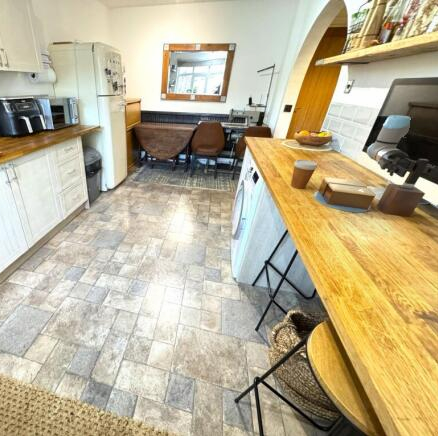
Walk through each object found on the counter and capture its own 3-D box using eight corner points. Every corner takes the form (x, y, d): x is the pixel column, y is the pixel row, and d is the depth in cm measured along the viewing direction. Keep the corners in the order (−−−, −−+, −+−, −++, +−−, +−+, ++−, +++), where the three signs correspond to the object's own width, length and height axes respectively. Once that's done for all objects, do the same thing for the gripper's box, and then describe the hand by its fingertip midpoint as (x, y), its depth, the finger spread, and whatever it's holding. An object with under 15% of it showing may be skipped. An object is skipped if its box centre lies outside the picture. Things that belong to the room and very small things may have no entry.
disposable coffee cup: (310, 191, 111) (320, 166, 105) (287, 188, 114) (296, 163, 108) (307, 184, 119) (316, 160, 113) (286, 181, 122) (293, 158, 116)
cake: (358, 195, 108) (367, 179, 104) (379, 216, 92) (389, 198, 88) (308, 189, 114) (314, 174, 110) (319, 207, 97) (327, 190, 93)
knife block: (400, 209, 97) (414, 186, 92) (409, 217, 91) (425, 193, 86) (376, 205, 99) (388, 183, 94) (384, 213, 94) (398, 190, 89)
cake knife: (396, 211, 96) (428, 159, 85) (398, 213, 94) (431, 160, 83) (386, 209, 97) (416, 158, 86) (388, 211, 95) (419, 159, 84)
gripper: (420, 170, 100) (458, 190, 82) (356, 163, 107) (378, 181, 89) (431, 152, 96) (474, 169, 78) (364, 147, 103) (389, 161, 85)
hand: (423, 175), depth 83 cm, fingers open, 10 cm apart
